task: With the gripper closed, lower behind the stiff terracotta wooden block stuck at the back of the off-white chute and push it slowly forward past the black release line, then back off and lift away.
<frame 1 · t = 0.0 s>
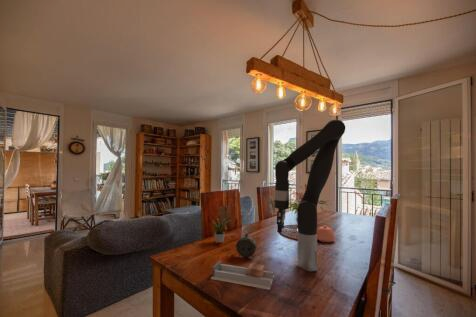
hand: (280, 230, 114), 17 cm above the table, tool pointing down, fingers open, 8 cm apart
house plant: (221, 242, 146), on the table
alarm clock: (246, 259, 120), on the table
chute: (242, 279, 97), on the table
sugar bowl: (323, 241, 151), on the table
block: (256, 272, 95), point 4 cm above the table, slide at 0.0 cm
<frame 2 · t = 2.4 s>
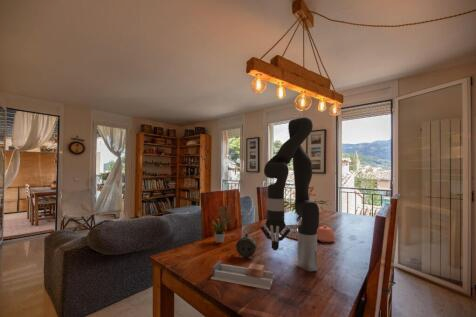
hand: (275, 249, 93), 15 cm above the table, tool pointing down, fingers closed
nothing on the table moved.
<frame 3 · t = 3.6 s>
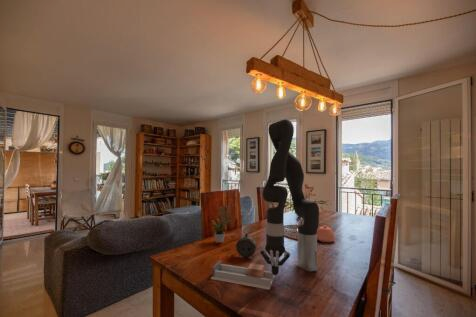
hand: (275, 274, 93), 5 cm above the table, tool pointing down, fingers closed
nothing on the table moved.
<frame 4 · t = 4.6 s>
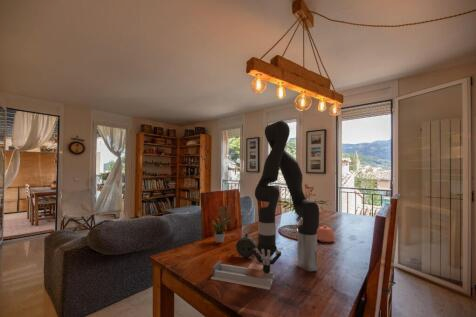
hand: (266, 272, 94), 5 cm above the table, tool pointing down, fingers closed
block: (255, 272, 95), point 4 cm above the table, slide at 0.1 cm, touching gripper
everything else where it was.
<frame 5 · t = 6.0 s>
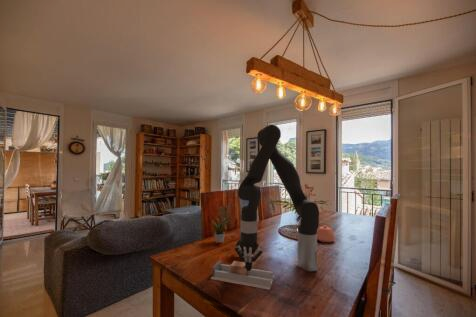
hand: (248, 270, 96), 5 cm above the table, tool pointing down, fingers closed
block: (238, 269, 98), point 4 cm above the table, slide at 8.0 cm, touching gripper
everything else where it was.
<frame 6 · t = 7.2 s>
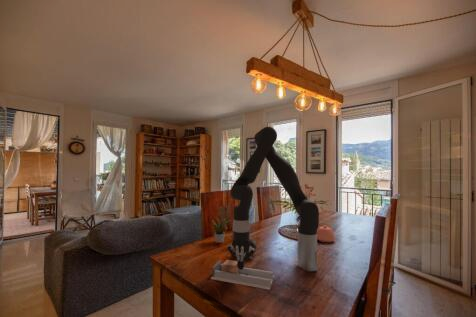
hand: (240, 268, 97), 5 cm above the table, tool pointing down, fingers closed
block: (230, 268, 99), point 4 cm above the table, slide at 11.7 cm, touching gripper
everything else where it was.
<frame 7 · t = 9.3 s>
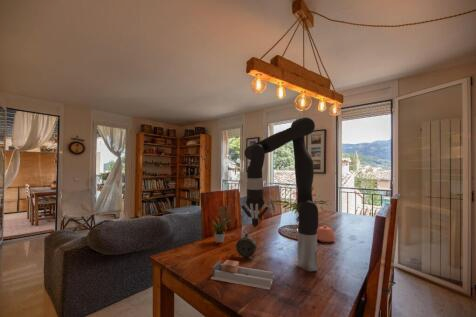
hand: (255, 226, 99), 23 cm above the table, tool pointing down, fingers closed
block: (230, 268, 99), point 4 cm above the table, slide at 11.7 cm
everything else where it was.
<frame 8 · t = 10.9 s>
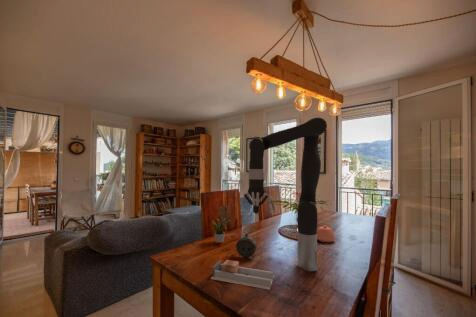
hand: (256, 213, 109), 27 cm above the table, tool pointing down, fingers closed
nothing on the table moved.
at the end: block slide at 11.7 cm; alarm clock moved 0.2 cm from its start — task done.
